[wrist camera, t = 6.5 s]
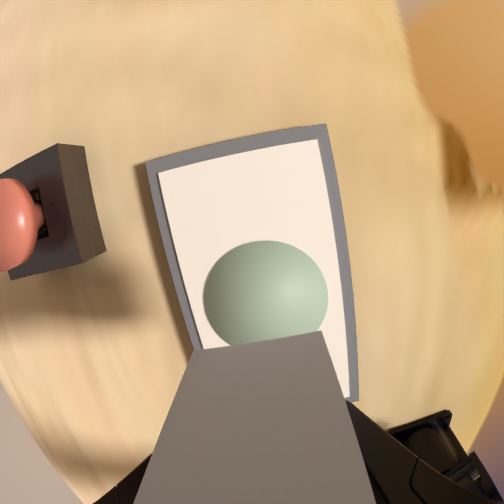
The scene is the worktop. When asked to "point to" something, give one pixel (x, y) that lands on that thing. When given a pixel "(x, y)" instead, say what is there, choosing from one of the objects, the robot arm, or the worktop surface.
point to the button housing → (60, 209)
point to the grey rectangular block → (258, 430)
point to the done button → (18, 223)
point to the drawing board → (259, 243)
